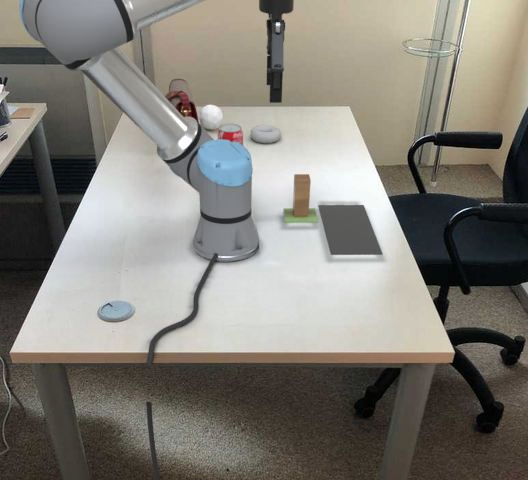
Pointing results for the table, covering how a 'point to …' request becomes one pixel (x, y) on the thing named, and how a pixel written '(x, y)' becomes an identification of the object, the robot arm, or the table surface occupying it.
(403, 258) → the table surface
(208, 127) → the white rounded ball
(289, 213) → the scrub brush
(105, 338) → the table surface
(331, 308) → the table surface
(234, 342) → the table surface
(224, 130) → the soda can
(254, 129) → the donut
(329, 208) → the slate
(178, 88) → the handbag
